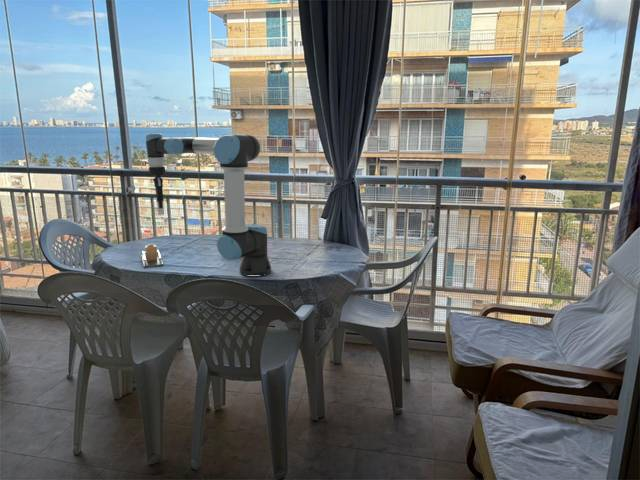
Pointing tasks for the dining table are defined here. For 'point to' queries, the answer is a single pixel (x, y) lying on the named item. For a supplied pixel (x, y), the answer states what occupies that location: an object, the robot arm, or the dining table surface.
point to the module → (151, 252)
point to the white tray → (152, 262)
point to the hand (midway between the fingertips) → (161, 214)
